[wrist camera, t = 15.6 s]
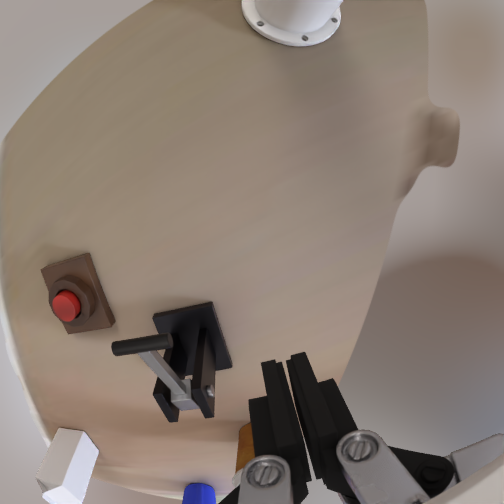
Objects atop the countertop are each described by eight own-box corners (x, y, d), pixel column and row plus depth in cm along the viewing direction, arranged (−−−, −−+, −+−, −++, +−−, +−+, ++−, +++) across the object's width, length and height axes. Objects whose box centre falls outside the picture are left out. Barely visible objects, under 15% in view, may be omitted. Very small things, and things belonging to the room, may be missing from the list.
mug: (219, 474, 48) (220, 511, 38) (216, 495, 51) (217, 527, 41) (181, 471, 47) (177, 508, 37) (182, 492, 50) (180, 524, 40)
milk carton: (84, 430, 42) (56, 501, 24) (99, 450, 44) (78, 518, 26) (59, 426, 42) (28, 491, 24) (74, 447, 44) (50, 509, 26)
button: (54, 292, 31) (48, 298, 29) (74, 287, 31) (68, 293, 29) (65, 317, 32) (59, 323, 30) (85, 313, 32) (79, 319, 30)
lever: (113, 333, 21) (109, 357, 19) (167, 323, 21) (167, 348, 19) (168, 393, 29) (169, 412, 27) (211, 387, 29) (213, 406, 27)
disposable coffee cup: (242, 451, 45) (247, 502, 34) (220, 424, 43) (221, 481, 31) (290, 437, 45) (303, 488, 34) (274, 408, 42) (286, 466, 31)
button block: (46, 265, 33) (33, 274, 30) (89, 252, 33) (77, 260, 30) (72, 328, 36) (62, 340, 32) (115, 321, 36) (107, 334, 33)
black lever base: (154, 313, 36) (127, 374, 24) (212, 301, 36) (206, 363, 24) (179, 372, 39) (166, 438, 27) (232, 362, 39) (235, 430, 27)
